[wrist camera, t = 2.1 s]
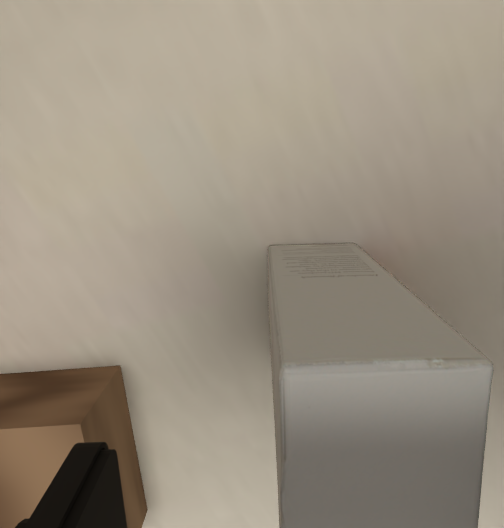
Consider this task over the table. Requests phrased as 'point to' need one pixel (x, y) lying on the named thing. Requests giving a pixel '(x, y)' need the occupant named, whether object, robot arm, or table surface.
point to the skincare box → (370, 398)
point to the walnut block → (62, 435)
